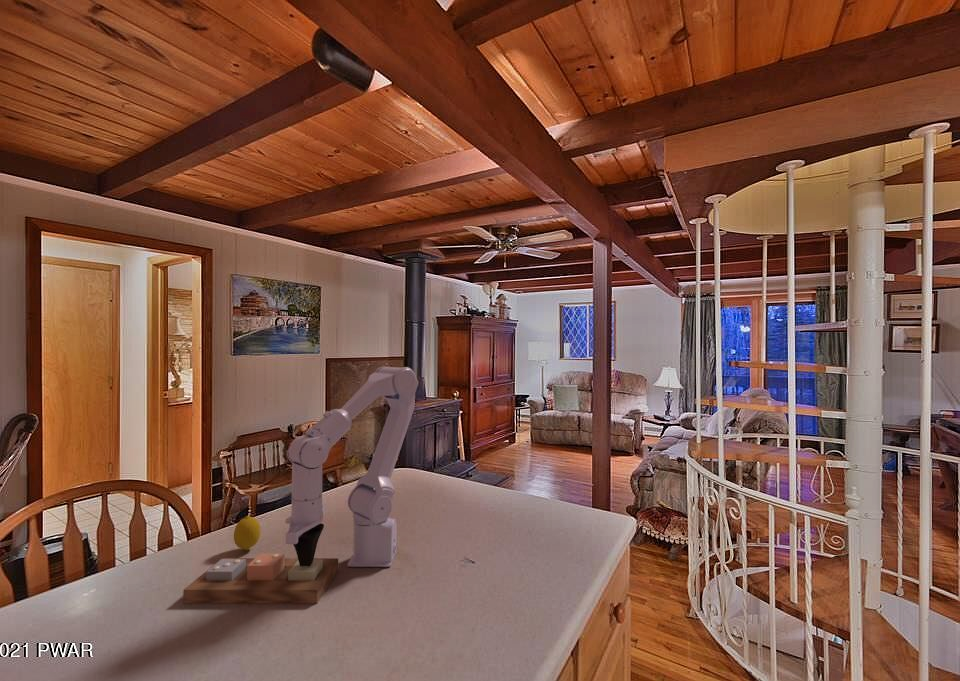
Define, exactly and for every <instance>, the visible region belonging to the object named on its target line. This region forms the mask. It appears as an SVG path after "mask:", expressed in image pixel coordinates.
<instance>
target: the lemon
mask: <svg viewBox="0 0 960 681" xmlns="http://www.w3.org/2000/svg"><path fill="white" fill-rule="evenodd" d="M260 537H261V524H260V522H259V520H257V518H255V517H253V516H250V515H245V517H243V518H242V519H240V521H238V522H237V523H236V525H235V528H234V532H233V540H234V544H235V545H236V547H238V548H240V549H243V550H244V551H249V550H250V549H251V548H253V547H254V546H255V545H256V544H257V543H258V541H259V540H260Z"/></svg>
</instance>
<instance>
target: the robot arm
mask: <svg viewBox="0 0 960 681" xmlns="http://www.w3.org/2000/svg"><path fill="white" fill-rule="evenodd" d="M418 387H419V380H418V378H417V376H416V373H415V372H414V370H413V369H412V368H410V367H409V366H404V367H399V366H398V367H393V366H392V367H391V366H386V365H383V366H380V367H378V368H377V369H375V371H374V372H373V373H371V374H369V376H368V379H367V381H366V382H364V384H363V385H362V386H361V387H360V388H359V389H358V390H357V391H356V392H355V393H354V394H353V396H352V397H350V398H349V400H348V401H347V402H345V403H344V405H343V406H342V407H341V408H339V409H338V408H335V409H331V410H330V411H328V410H325V412H324V413H323V414H322V416H323V417H322V418H321V419H320V420H318V422H317V423H316V424H314V426H312V427H311V428H307V430H306V431H305V435H304V434H303V435H301V436H300V435H299V436H297V437H295V438H294V439H293V440H292V441H291V443H290V446H289V448H288V450H286V456H287V459H288V460H289V461H290V462H291V464H292V465H291V516H288V517H287V518H286V519H285V524H287V525H288V524H289V526H288V531H287V532H286V533H285V545H293V547H294V550H295V552H296V555H297V556H296V558H298V561H299V564H300V566H310V565H311V564H312V562H313V559H314V558H315V555H316V550H317V545H318V542H319V540H320V536H321V534H322V532H323V530H324V528H325V524H324V523H323V521H324V515H325V514H326V513H325V509H326V508H325V504H324V505H323V464H324V463H326V461H327V459H328V457H329V455H330V453H329V452H330V451H331V449H332V447H333V446H334V445H335V444H336V443H338V441H339V440H341V438H343V436H345V435H346V434H347V433H348V431H349V430H351V428H352V423H353V421H352V420H354V418H355V417H357V416H358V415H359V414H360V413H361V412H363V411H364V410H365V409H366V408H367V407H368V406H370V405H371V404H372V403H373V402H374V401H375V400H376V399H378V398H380V397H383V398H384V399H385V400H386V402H387V404H388V405H389V408H390V409H389V411H388V414H387V417H386V420H385V423H384V426H383V428H382V431H381V434H380V437H379V439H378V442H377V445H376V448H375V451H374V453H373V457H372V459H371V462H370V465H369V467H368V471H366V473H365V474H364V475H362V476H361V477H360V478H359V479H358V480H357V482H356V485H355V487H354V488H353V489H352V490H351V492H350V493H349V495H348V498H347V506H348V509H349V510H350V511H351V512H352V518H353V539H352V540H353V541H352V542H353V545H352V546H353V548H352V551H353V554H352V556H351V558H349V561H348V563H347V565H346V566H347V567H349V568H350V567H351V568H352V567H353V568H360V567H361V568H365V567H366V568H369V567H370V568H374V567H375V568H383V567H384V568H388V567H391V566H392V563H393V561H394V558H395V556H396V555H397V554H396V553H397V551H398V547H397V543H398V542H397V540H398V539H397V535H398V534H397V529H398V528H397V526H398V525H397V524H398V523H397V520H396V519H395V518H391V517H390V515H391V514H392V512H393V508H394V501H393V500H394V494H395V492H396V490H395V487H394V485H393V483H392V480H391V478H392V476H393V473H394V470H395V466H396V464H397V461H398V458H399V455H400V451H401V449H402V446H403V442H404V440H405V437H406V434H407V431H408V428H409V425H410V423H411V420H412V416H413V414H414V410H415V406H416V391H417V389H418Z"/></svg>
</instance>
